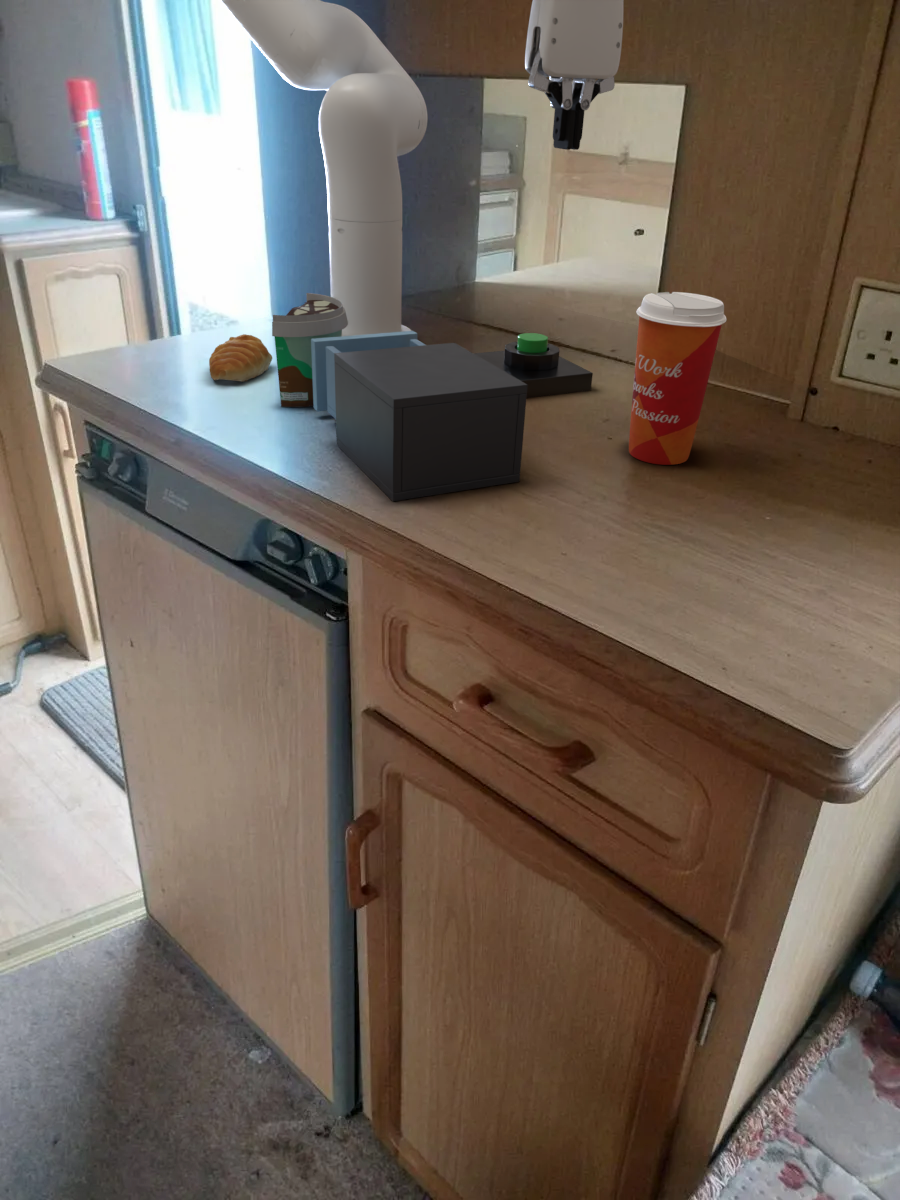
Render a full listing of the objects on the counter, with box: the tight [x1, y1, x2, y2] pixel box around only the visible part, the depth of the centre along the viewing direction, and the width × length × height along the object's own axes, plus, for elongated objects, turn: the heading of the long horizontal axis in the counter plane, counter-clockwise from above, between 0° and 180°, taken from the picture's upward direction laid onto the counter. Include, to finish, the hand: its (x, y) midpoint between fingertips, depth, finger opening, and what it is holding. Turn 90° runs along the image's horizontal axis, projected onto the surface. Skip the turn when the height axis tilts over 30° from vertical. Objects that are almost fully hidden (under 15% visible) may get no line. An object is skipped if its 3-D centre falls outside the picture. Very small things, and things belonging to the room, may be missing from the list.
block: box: [472, 341, 594, 399], centre depth 110 cm, size 12×10×4 cm
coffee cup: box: [628, 291, 727, 466], centre depth 87 cm, size 8×8×15 cm
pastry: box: [208, 333, 273, 383], centre depth 108 cm, size 9×7×4 cm
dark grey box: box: [334, 342, 528, 502], centre depth 85 cm, size 15×13×9 cm
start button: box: [516, 332, 549, 353], centre depth 109 cm, size 4×4×2 cm
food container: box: [271, 292, 348, 408], centre depth 101 cm, size 12×6×10 cm, turn 170°
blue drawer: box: [311, 330, 426, 420], centre depth 94 cm, size 19×11×7 cm, turn 26°
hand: (566, 148), depth 106 cm, fingers closed
